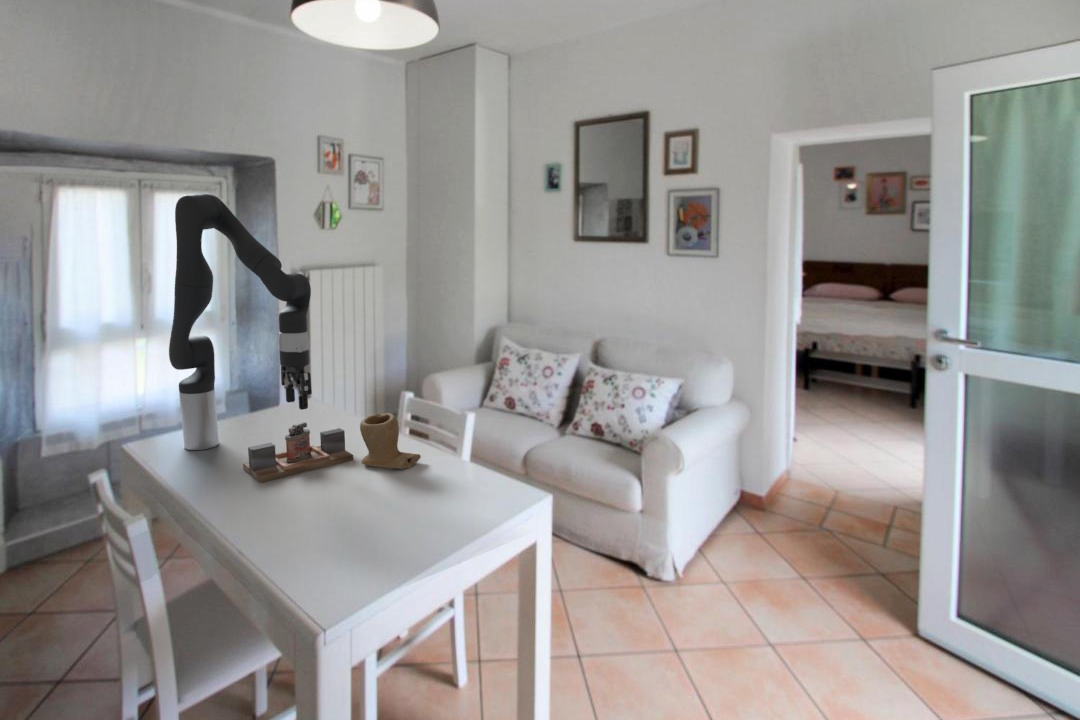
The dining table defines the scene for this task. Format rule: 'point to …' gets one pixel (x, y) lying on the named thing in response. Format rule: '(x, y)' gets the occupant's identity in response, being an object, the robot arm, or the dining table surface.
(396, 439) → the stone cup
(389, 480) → the dining table surface
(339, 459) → the rail
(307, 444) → the lighter
